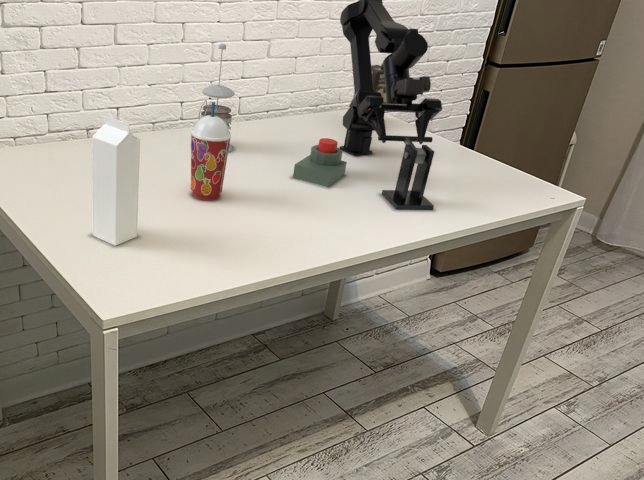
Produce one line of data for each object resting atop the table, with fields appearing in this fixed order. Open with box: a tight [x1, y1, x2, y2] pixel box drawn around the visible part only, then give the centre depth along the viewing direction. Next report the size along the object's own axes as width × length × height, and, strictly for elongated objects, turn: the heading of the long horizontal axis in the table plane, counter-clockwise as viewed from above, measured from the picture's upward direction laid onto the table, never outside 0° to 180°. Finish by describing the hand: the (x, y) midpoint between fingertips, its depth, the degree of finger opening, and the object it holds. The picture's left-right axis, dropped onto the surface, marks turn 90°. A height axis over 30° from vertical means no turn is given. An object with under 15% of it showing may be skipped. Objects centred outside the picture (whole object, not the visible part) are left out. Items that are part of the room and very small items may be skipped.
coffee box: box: [352, 64, 387, 102], centre depth 216 cm, size 9×6×16 cm
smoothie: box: [190, 101, 232, 201], centre depth 155 cm, size 8×8×20 cm
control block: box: [292, 144, 347, 188], centre depth 176 cm, size 12×9×6 cm
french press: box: [198, 43, 236, 153], centre depth 181 cm, size 10×12×25 cm
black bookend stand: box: [381, 144, 435, 211], centre depth 165 cm, size 9×9×13 cm
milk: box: [91, 115, 141, 246], centre depth 133 cm, size 6×6×22 cm
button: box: [317, 137, 339, 154], centre depth 176 cm, size 4×4×2 cm
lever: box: [377, 134, 433, 165], centre depth 165 cm, size 10×13×2 cm
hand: (403, 143), depth 170 cm, fingers open, 9 cm apart
